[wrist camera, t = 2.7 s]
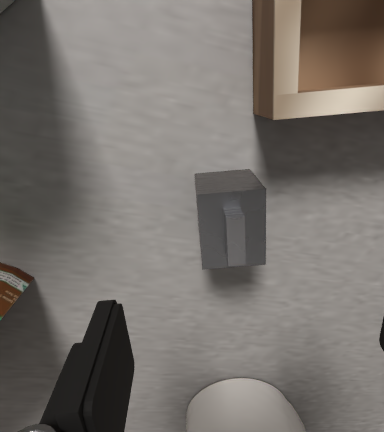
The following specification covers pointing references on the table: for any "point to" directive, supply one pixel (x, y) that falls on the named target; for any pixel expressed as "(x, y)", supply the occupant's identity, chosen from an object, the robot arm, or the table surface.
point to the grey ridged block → (231, 219)
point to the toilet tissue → (241, 409)
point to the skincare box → (5, 4)
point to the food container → (11, 286)
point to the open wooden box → (317, 57)
